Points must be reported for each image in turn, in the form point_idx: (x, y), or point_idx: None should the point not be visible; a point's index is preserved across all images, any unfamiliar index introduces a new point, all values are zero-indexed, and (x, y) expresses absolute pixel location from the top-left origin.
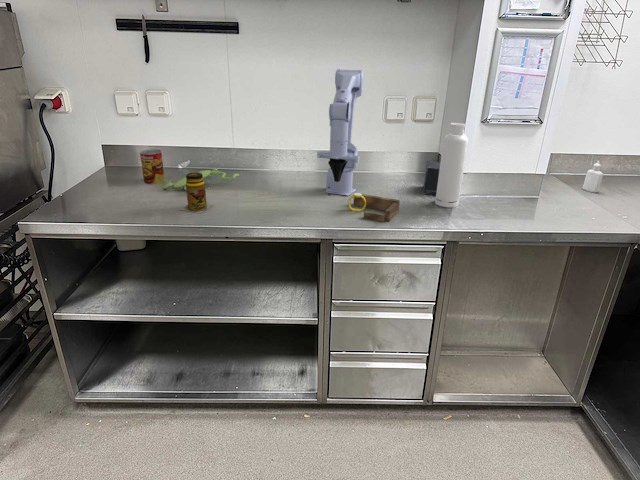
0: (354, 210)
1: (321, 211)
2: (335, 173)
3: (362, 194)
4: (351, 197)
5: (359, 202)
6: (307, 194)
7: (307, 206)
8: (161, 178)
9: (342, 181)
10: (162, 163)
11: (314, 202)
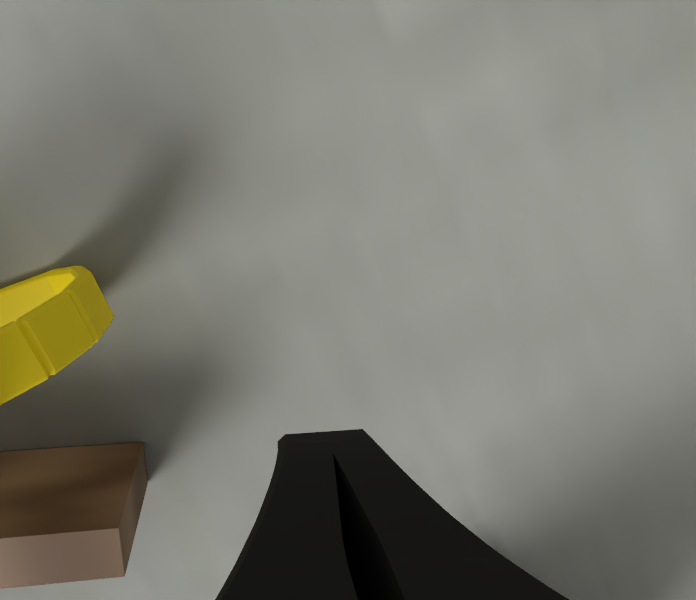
0: (28, 280)
1: (380, 65)
2: (375, 539)
3: (6, 573)
4: (12, 324)
5: (55, 472)
6: (690, 463)
7: (587, 145)
8: None
9: None
10: None
11: (557, 299)
